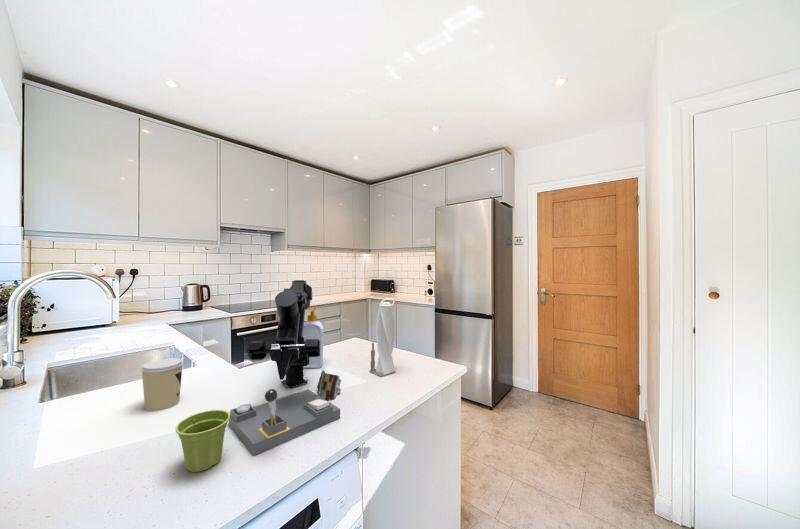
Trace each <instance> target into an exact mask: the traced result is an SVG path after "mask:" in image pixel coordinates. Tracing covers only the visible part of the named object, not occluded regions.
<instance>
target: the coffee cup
mask: <svg viewBox="0 0 800 529" xmlns="http://www.w3.org/2000/svg"><path fill="white" fill-rule="evenodd" d="M183 364H184V361H183V360H182V359H181V358H177V357H171V358H170V357H169V358H167V357H166V358H162V359H161V358H160V359H156V360H155V359H154V360H153V361H152V360H151V361H148V362H146V363H144V364H143V365H142V368H141V369H140V370H141V373H142V374H141V376H142V385H143V386H142V387H143V400H144V408H145V410H146V411H148V412H149V411H150V412H155V411H156V412H157V411H162V410H166V409H169V408H172V407H174V406H176V405H178V404H179V402H180V397H181V384H182V377H183V376H182V375H183V374H182V372H183Z"/></svg>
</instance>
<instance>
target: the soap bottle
mask: <svg viewBox="0 0 800 529" xmlns="http://www.w3.org/2000/svg"><path fill="white" fill-rule="evenodd" d="M316 310H317V309H316V308H315V307H309V312H310V314H308V315H307V318H306V319H307V320H306V321H304V327H303V336H302V337H303V338H304V341H305V340H306V339H319V340H320V356H319V357H309V365H307V366H303V369H320V368H322V366H323V361H324V337H325V332H324V331H325V328H324V325H323V324H322V323H321V321H318V320H317V319H318V315H316V314H315V311H316Z"/></svg>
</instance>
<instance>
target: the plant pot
mask: <svg viewBox="0 0 800 529" xmlns="http://www.w3.org/2000/svg"><path fill="white" fill-rule="evenodd" d="M229 419H230V412H228V411H227V410H224V409H211V410H210V409H209V410H205V411H202V412H197V413H194V414H192V415H189V416H187V417H186V418H185V417H184V419H182V420H181V421H179V422H178V423H177V424H176V426H175V433H176V434H177V435H178V438H179V439H180V443H181V448H182V452H183V457H184V464H185V469H186V470H187V471H190V472H191V473H197V472H198V473H199V472H204V471H206V470H209V469H211V467H212V466H214V465H216V464H218V463H219V462H220V461H221V459H222V454H223V447H224V440H225V434H226V433H225V432H226V429H227V426H228V421H229Z"/></svg>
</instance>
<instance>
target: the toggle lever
mask: <svg viewBox="0 0 800 529" xmlns="http://www.w3.org/2000/svg"><path fill="white" fill-rule="evenodd" d="M276 399H278V391H277V390H276V389H273V388H271V389H268V390H266V392H265V394H264V400H265V401H266V402H268V403H269V412H270V421H271V426H272V425H275V424H278V423H277V413H276V403H275V400H276Z"/></svg>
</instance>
